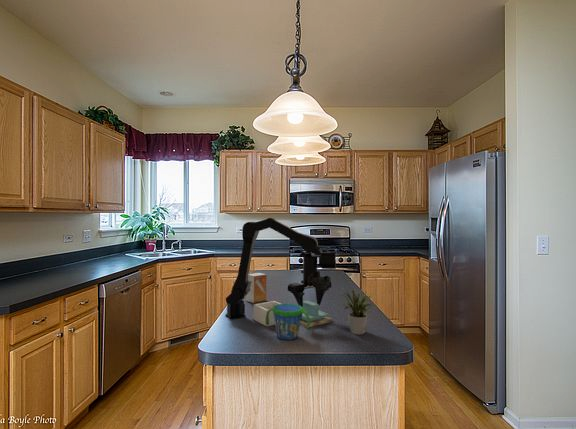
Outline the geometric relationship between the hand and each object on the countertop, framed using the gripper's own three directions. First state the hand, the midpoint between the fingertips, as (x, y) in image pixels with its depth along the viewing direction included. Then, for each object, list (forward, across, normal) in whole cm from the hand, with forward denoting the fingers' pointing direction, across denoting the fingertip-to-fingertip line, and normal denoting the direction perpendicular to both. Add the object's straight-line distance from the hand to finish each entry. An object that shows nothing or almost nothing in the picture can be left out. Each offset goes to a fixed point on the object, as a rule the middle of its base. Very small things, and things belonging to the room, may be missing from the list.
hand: (310, 307), depth 133 cm
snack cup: (+6, -18, -9) cm, 21 cm away
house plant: (+6, +5, -19) cm, 20 cm away
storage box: (+5, -13, +9) cm, 17 cm away
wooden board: (+5, 0, 0) cm, 5 cm away
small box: (+6, -2, +39) cm, 39 cm away
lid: (+4, 0, 0) cm, 4 cm away
